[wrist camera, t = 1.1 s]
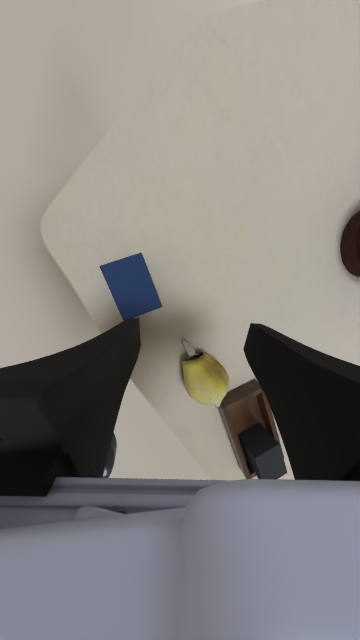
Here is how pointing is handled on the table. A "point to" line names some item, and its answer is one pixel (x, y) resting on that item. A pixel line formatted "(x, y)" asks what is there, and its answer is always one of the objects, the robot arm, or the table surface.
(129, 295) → the blue rectangular block
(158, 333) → the table surface
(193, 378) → the fruit
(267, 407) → the frame
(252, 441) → the dark grey rectangular block
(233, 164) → the table surface
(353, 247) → the ball on stand
